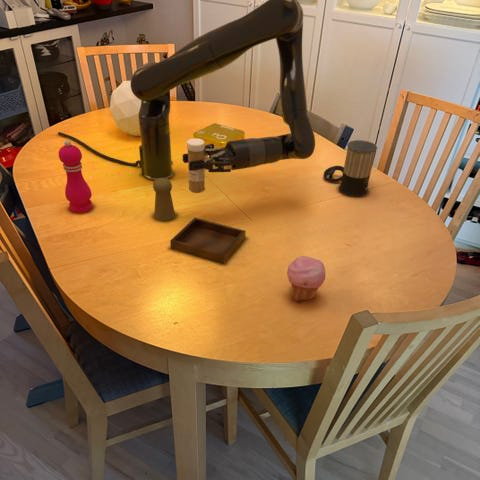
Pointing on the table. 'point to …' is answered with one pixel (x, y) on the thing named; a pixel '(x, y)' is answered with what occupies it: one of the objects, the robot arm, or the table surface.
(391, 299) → the table surface
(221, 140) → the element tile
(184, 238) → the tray
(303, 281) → the cupcake
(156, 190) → the olive chess pawn
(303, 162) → the table surface
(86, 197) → the pepper mill
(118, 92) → the ball
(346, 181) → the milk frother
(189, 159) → the sprinkles bottle
